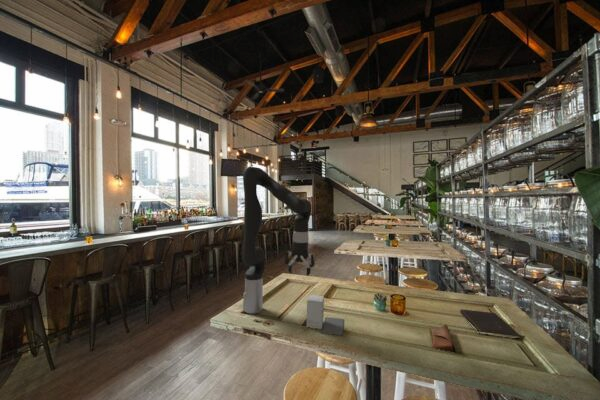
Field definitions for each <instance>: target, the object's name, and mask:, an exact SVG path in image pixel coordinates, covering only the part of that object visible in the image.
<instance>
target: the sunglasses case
mask: <svg viewBox="0 0 600 400" xmlns="http://www.w3.org/2000/svg"><path fill="white" fill-rule="evenodd" d="M428 330H430V331H429V332H430V337H431V342H432V344H431V345H432V346H431V347H432V349H433V348H435V349H434V350H438V349H440V350H439V351H442V350H445V351H444V352H446V351H450V352H449V353H451V352H455V354H456V353H457V350H456V346H455V342H454V338H453V337H452V334H451V331H450V329H449V326H448V325H447V324H444V325H441V326H436V327H432V328H429V329H428Z"/></svg>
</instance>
